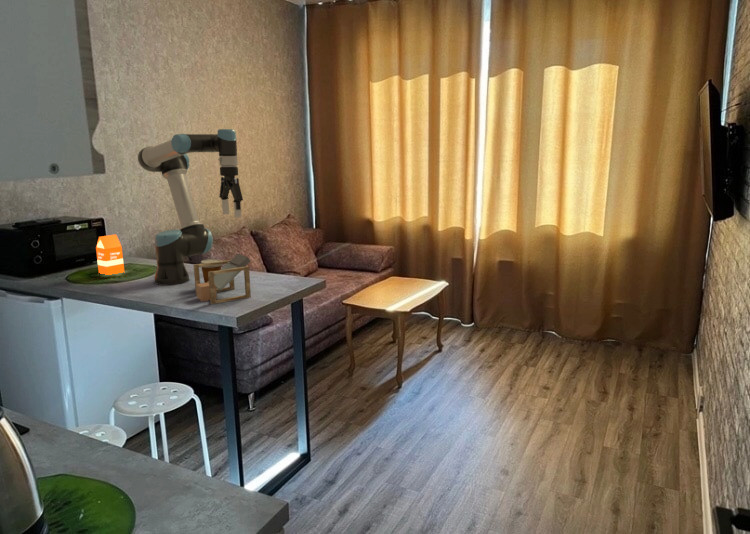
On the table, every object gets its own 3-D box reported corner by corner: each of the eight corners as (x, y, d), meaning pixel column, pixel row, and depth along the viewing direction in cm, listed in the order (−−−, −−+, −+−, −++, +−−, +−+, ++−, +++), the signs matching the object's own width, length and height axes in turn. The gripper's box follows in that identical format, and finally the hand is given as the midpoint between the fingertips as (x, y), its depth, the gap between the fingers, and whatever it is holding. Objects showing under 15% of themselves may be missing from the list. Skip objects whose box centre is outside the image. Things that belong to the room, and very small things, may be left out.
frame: (195, 294, 238) (193, 264, 235) (233, 288, 248) (231, 259, 245) (211, 304, 223) (209, 272, 221) (250, 297, 233) (249, 266, 230)
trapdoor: (209, 284, 239) (205, 280, 238) (239, 256, 245) (235, 252, 243) (222, 291, 227) (218, 287, 226) (253, 261, 233) (249, 257, 232)
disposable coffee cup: (222, 289, 246) (221, 262, 244) (200, 290, 245) (198, 263, 242) (225, 284, 255) (223, 258, 253) (203, 285, 254) (201, 259, 251)
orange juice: (99, 276, 272) (94, 236, 268) (116, 273, 279) (111, 233, 275) (108, 279, 268) (103, 237, 263) (125, 275, 275) (120, 235, 270)
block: (211, 295, 236) (197, 298, 232) (210, 281, 234) (196, 284, 231) (216, 298, 231) (202, 301, 228) (215, 284, 230) (201, 287, 226)
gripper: (209, 165, 248) (213, 213, 252) (231, 167, 228) (234, 219, 232) (226, 165, 252) (229, 212, 256) (249, 166, 232) (251, 217, 237)
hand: (231, 215), depth 244 cm, fingers open, 13 cm apart
